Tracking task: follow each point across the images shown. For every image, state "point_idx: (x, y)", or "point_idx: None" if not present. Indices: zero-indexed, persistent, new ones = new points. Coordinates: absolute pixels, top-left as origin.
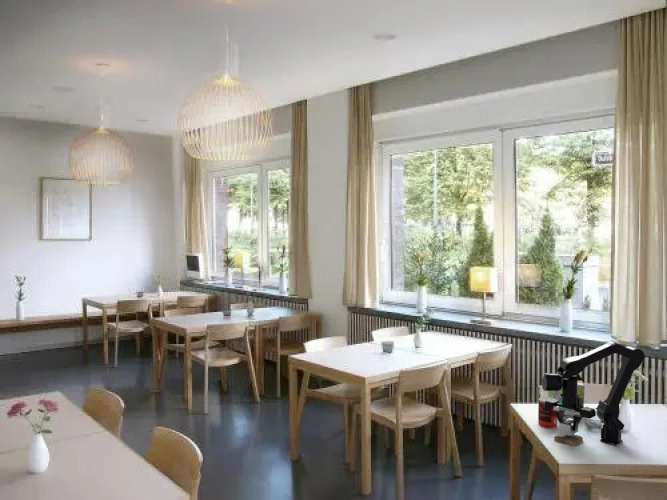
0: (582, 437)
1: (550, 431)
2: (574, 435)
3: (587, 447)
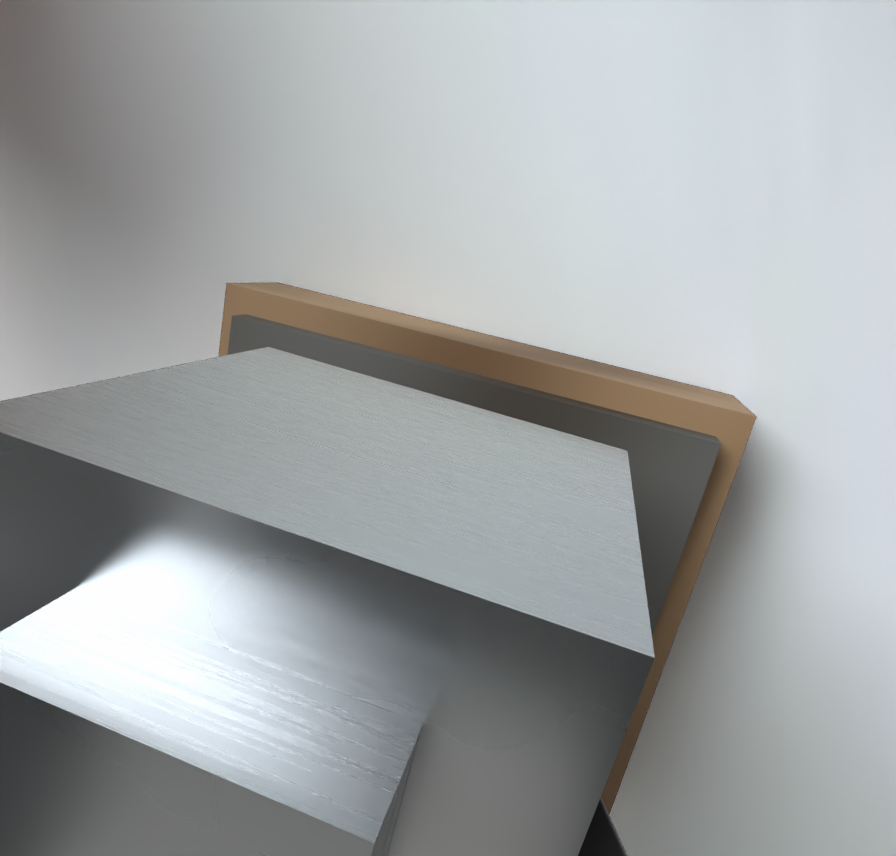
0: (745, 436)
1: (14, 167)
2: None
3: (872, 751)
